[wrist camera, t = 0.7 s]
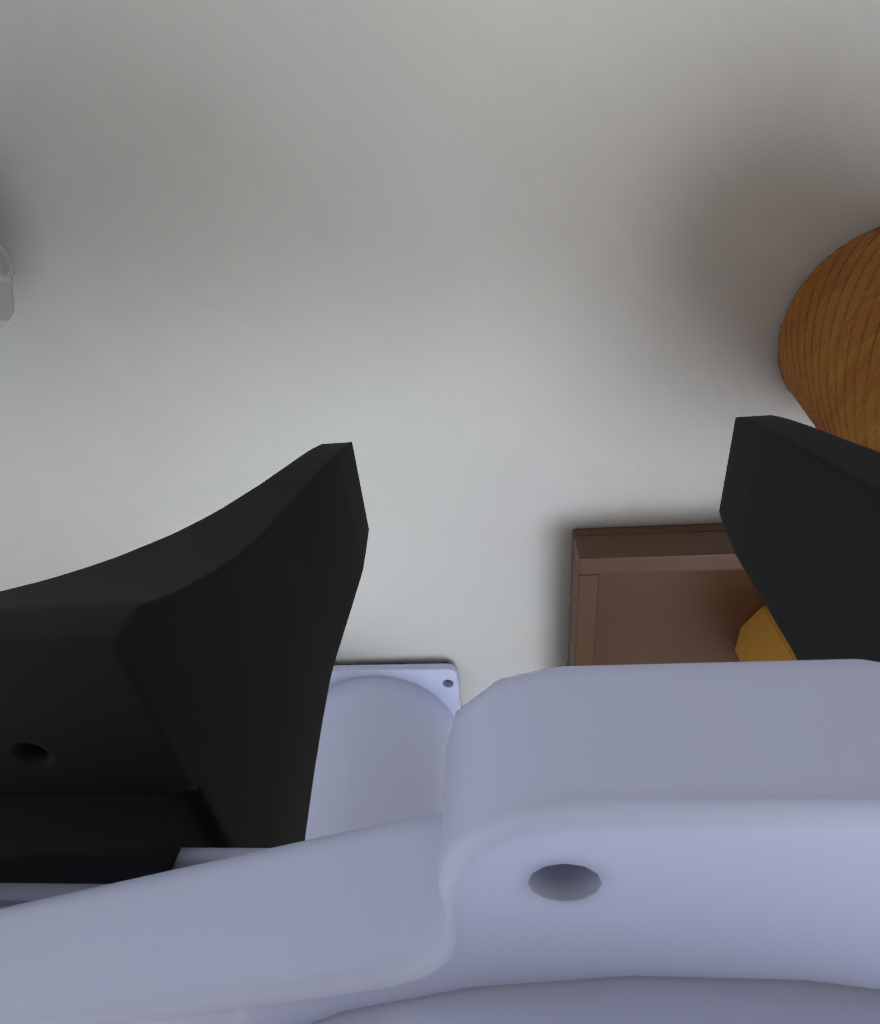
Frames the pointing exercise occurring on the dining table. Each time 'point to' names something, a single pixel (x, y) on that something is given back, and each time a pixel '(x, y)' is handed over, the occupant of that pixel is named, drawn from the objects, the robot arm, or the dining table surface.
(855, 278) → the disposable coffee cup
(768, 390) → the dining table surface
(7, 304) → the can
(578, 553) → the tray
